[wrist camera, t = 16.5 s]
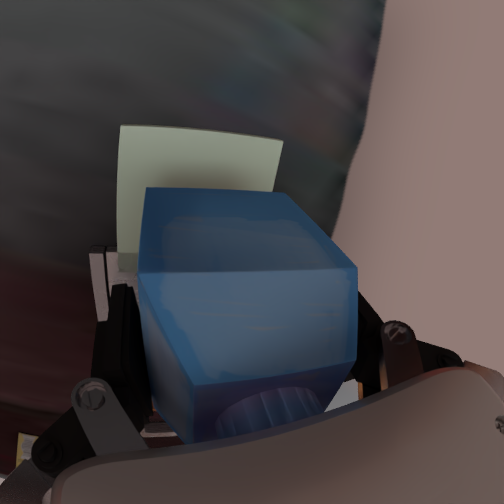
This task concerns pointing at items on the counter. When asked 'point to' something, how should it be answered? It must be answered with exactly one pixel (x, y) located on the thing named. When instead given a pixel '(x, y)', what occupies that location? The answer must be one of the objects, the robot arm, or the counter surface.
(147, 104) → the counter surface
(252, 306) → the perfume bottle
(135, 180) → the mat
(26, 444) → the candy box
